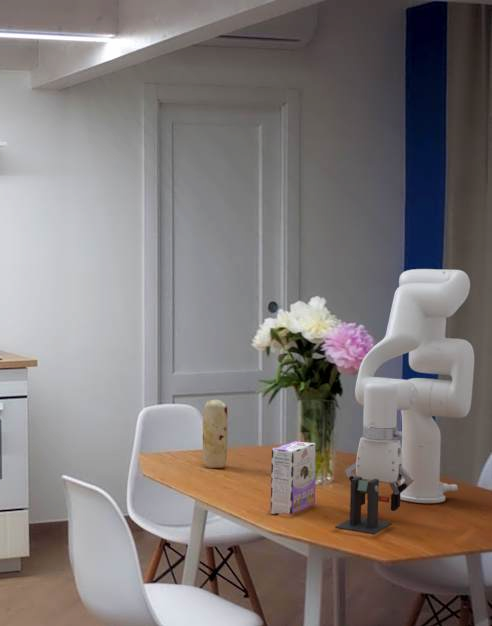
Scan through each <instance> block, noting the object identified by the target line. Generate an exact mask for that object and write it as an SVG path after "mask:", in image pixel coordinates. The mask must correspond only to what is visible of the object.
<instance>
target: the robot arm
mask: <svg viewBox="0 0 492 626" xmlns="http://www.w3.org/2000/svg"><path fill="white" fill-rule="evenodd" d="M470 289H471V281H470V278H469V275H468V274H467V273H466V272H465V271H463V270H461V269H440V268H439V269H434V268H416V269H407V270H405V271H403V272H402V273H400V275H399V279H398V287H397V288H396V290H395V292H394V294H393V299H392V304H391V308H390V312H389V317H388V323H387V326H386V333H385V336H384V337H383V339H382V340H380V341H379V342H377V343H376V344H375V345H374V346H373V347H372V348H371V349H370V350H369V351H368V352H367V353H366V354H365V355H364V357H363V359H362V361H361V363H360V365H359V368H358V373H357V377H356V382H355V388H354V397H355V399H356V402H357V404H359V405H360V406H362V407H363V418H362V419H363V420H362V421H363V422H362V425H363V426H362V436H361V437H359V442H358V443H359V444H358V446H357V452H356V461H355V462H354V463H353V464H351V465H350V466H348V467H347V468H345V469H344V474H345V475H346V476H347V478H348V479H349V481H350V482H351V479H353V478H356V477H362V480H363V481H371V480H373V479H379V483H383V484H389V486H390V488H391V490H392V494H390V511H392V512H396V511H397V510H398V509H399V508H400V506H401V501H403V502H407V503H417V504H440V503H444V502H445V501H446V495H445V494H446V493H447V492H449V493H456V492H458V484H456V483H454V484H452V483H451V484H449V483H444V482H442V481H440V479H441V478H440V477H441V476H440V474H441V443H442V442H441V441H442V440H441V439H442V437H441V436H442V434H441V429H440V427H439V425H438V424H437V422H436V421H435V420H434V418H433V417H438V418H439V417H441V418H450V419H462V418H465V417H467V415H468V414H469V413H470V410H471V406H472V397H473V386H474V385H473V384H474V371H475V352H474V348H473V345H472V344H471V342H469V341H468V340H467V339H463V338H451V337H446V327H447V318H449V317H451V316H453V315H454V314H455V313H456V312H457V311H458V309H459V308H460V307H461V306H462V305H463V304H464V303H465V301H466V300H467V299H468V296H469V293H470ZM405 354H408V365H409V368H410V369H411V370H413V371H414V372H417V373H422V374H431V375H442V376H443V375H444V376H446V375H447V376H449V377H451V380H448V379H437V378H426V377H412V378H408V379H403V378H392V377H380V376H375V374H376V371H377V370H378V369H379V368H380V367H381V366H382V365H383V364H385V363H387V362H388V361H389V360H392V359H394V358H397V357H400V356H402V355H405ZM398 411H400V414H401V430H398V427H397V420H398V419H397V418H398ZM398 438H401V440H399V439H398ZM354 471H355V473H354ZM399 481H400V482H399ZM363 505H366V494H364V493H362V494H361V506H363Z"/></svg>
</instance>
